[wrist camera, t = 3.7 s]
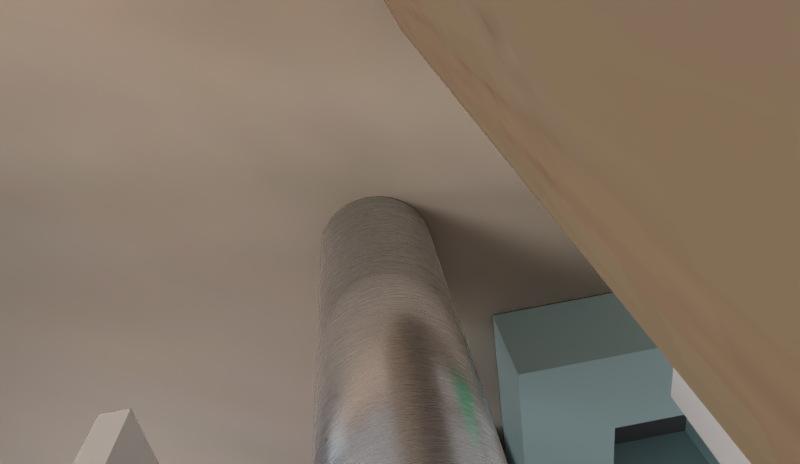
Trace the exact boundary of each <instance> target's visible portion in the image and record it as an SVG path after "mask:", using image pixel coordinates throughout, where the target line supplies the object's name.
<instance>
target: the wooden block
mask: <svg viewBox="0 0 800 464" xmlns="http://www.w3.org/2000/svg"><path fill="white" fill-rule="evenodd" d="M384 1H385V3H386V4H387V6H388V8H389V9H390V11H391V13H392V15H393V16H394V18H395V20H396V21H397V23H398V25H399V26H400V28H401V30H402V31H403V33H404V34H405V35H406V36H407V38H408V39H409V40H410V41H411V43H412V44H413V45H414V46H415V48H416V49H417V50H418V51H419V53H420V54H421V55H422V56H423V57H424V59H425V60H426V61H427V62H428V64H429V65H430V66H431V67H432V69H433V70H434V71H435V72H436V74H437V75H438V76H439V77H440V79H441V80H442V81H443V82H444V84H445V85H446V86H447V87H448V88H449V90H450V91H451V92H452V93H453V95H454V96H455V97H456V98H457V100H458V101H459V102H460V103H461V105H462V106H463V107H464V108H465V110H466V111H467V112H468V113H469V114H470V116H471V117H472V118H473V119H474V121H475V122H476V123H477V124H478V126H479V127H480V128H481V129H482V131H483V132H484V133H485V134H486V136H487V137H488V138H489V139H490V141H491V142H492V143H493V144H494V145H495V147H496V148H497V149H498V150H499V152H500V153H501V154H502V155H503V157H504V158H505V159H506V160H507V162H508V163H509V164H510V165H511V167H512V168H513V169H514V170H515V171H516V173H517V174H518V175H519V176H520V178H521V179H522V180H523V181H524V183H525V184H526V185H527V186H528V188H529V189H530V190H531V191H532V193H533V194H534V195H535V196H536V198H537V199H538V200H539V201H540V202H541V204H542V205H543V206H544V207H545V209H546V210H547V211H548V212H549V214H550V215H551V216H552V217H553V219H554V220H555V221H556V222H557V224H558V225H559V226H560V227H561V228H562V230H563V231H564V232H565V233H566V235H567V236H568V237H569V238H570V240H571V241H572V242H573V243H574V245H575V246H576V247H577V248H578V250H579V251H580V252H581V253H582V255H583V256H584V257H585V258H586V259H587V261H588V262H589V263H590V264H591V266H592V267H593V268H594V269H595V271H596V272H597V273H598V274H599V276H600V277H601V278H602V279H603V281H604V282H605V283H606V284H607V286H608V287H609V288H610V289H611V290H612V292H613V293H614V294H615V295H616V297H617V298H618V299H619V300H620V302H621V303H622V304H623V305H624V307H625V308H626V309H627V310H628V312H629V313H630V314H631V315H632V316H633V318H634V319H635V320H636V321H637V323H638V324H639V325H640V326H641V328H642V329H643V330H644V331H645V333H646V334H647V335H648V336H649V338H650V339H651V340H652V341H653V343H654V344H655V345H656V346H657V347H658V349H659V350H660V351H661V352H662V354H663V355H664V356H665V357H666V359H667V360H668V361H669V362H670V364H671V365H672V366H673V367H674V369H675V370H676V371H677V372H678V373H679V375H680V376H681V377H682V378H683V380H684V381H685V382H686V383H687V385H688V386H689V387H690V388H691V390H692V391H693V392H694V393H695V395H696V396H697V397H698V398H699V400H700V401H701V402H702V403H703V404H704V406H705V407H706V408H707V409H708V411H709V412H710V413H711V414H712V416H713V417H714V418H715V419H716V421H717V422H718V423H719V424H720V426H721V427H722V428H723V429H724V430H725V432H726V433H727V434H728V435H729V437H730V438H731V439H732V440H733V442H734V443H735V444H736V445H737V447H738V448H739V449H740V450H741V452H742V453H743V454H744V455H745V457H746V458H747V459H748V460H749V461H750V463H751V464H800V0H384Z"/></svg>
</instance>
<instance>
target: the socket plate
mask: <svg viewBox="0 0 800 464" xmlns="http://www.w3.org/2000/svg"><path fill="white" fill-rule="evenodd" d="M493 326H494V337H495V347H496V358H497V369H498V379H499V390H500V401H501V411H502V422H503V433H504V443H505V454H506V460H507V463H508V464H720V463H719V462H718V460H717V459H716V458H715V456H714V455H713V454H712V452H711V451H710V449H709V448H708V447H707V445H706V444H705V443H704V441H703V440H702V438H701V437H700V436H699V434H698V433H697V432H696V430H695V429H694V427H693V426H692V425H691V423H690V422H689V421H688V419H687V418H686V416H685V415H684V414H683V412H682V411H681V410H680V408H679V407H678V405H677V404H676V403H675V401H674V400H673V399H672V397H671V387H672V376H673V366H672V365H671V364H670V362H669V361H668V360H667V359H666V357H665V356H664V355H663V354H662V352H661V351H660V350H659V349H658V347H657V346H656V345H655V344H654V343H653V341H652V340H651V339H650V338H649V336H648V335H647V334H646V333H645V331H644V330H643V329H642V328H641V326H640V325H639V324H638V323H637V321H636V320H635V319H634V318H633V316H632V315H631V314H630V313H629V312H628V310H627V309H626V308H625V307H624V305H623V304H622V303H621V302H620V300H619V299H618V298H617V297H616V295H615V294H614V293H609V294H603V295H598V296H593V297H587V298H582V299H577V300H572V301H566V302H561V303H556V304H551V305H545V306H540V307H535V308H530V309H524V310H519V311H514V312H509V313H503V314H498V315H493Z"/></svg>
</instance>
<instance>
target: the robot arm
mask: <svg viewBox="0 0 800 464" xmlns="http://www.w3.org/2000/svg"><path fill="white" fill-rule="evenodd" d="M671 397H672V399H673V400H674V401H675V403H676V404H677V405H678V407H679V408H680V410H681V411H682V412H683V414H684V415H685V416H686V418H687V419H688V421H689V422H690V423H691V425H692V426H693V427H694V429H695V430H696V432H697V433H698V434H699V436H700V437H701V438H702V440H703V441H704V443H705V444H706V445H707V447H708V448H709V449H710V451H711V452H712V454H713V455H714V456H715V458H716V459H717V460H718V462H719V463H720V464H751V463H750V461H749V460H748V459H747V458H746V457H745V455H744V454H743V453H742V452H741V450H740V449H739V448H738V447H737V445H736V444H735V443H734V442H733V440H732V439H731V438H730V437H729V435H728V434H727V433H726V432H725V430H724V429H723V428H722V427H721V426H720V424H719V423H718V422H717V421H716V419H715V418H714V417H713V416H712V414H711V413H710V412H709V411H708V409H707V408H706V407H705V406H704V404H703V403H702V402H701V401H700V400H699V398H698V397H697V396H696V395H695V393H694V392H693V391H692V390H691V388H690V387H689V386H688V385H687V383H686V382H685V381H684V380H683V378H682V377H681V376H680V375H679V373H678V372H677V371H676V370H675V369H674V367H673V376H672V387H671ZM73 464H159V463H158V461H157V459H156V457H155V455H154V453H153V451H152V449H151V447H150V445H149V443H148V441H147V439H146V437H145V435H144V433H143V431H142V429H141V427H140V425H139V423H138V421H137V419H136V417H135V415H134V413H133V412H132V410H131V408H130V409H124V410H119V411H113V412H108V413H102V414H98V416H97V418H96V420H95V422H94V424H93V426H92V428H91V430H90V432H89V433H88V435H87V437H86V439H85V441H84V443H83V445H82V447H81V449H80V451H79V452H78V454H77V456H76V458H75V460H74V462H73Z"/></svg>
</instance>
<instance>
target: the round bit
mask: <svg viewBox="0 0 800 464" xmlns="http://www.w3.org/2000/svg"><path fill="white" fill-rule="evenodd" d="M313 464H508V463H507V460H506V457H505V454H504V451H503V448H502V445H501V442H500V439H499V437H498V434H497V431H496V428H495V425H494V422H493V419H492V416H491V413H490V410H489V407H488V404H487V401H486V398H485V395H484V392H483V389H482V386H481V383H480V380H479V377H478V374H477V371H476V368H475V365H474V362H473V360H472V357H471V354H470V351H469V348H468V345H467V342H466V339H465V336H464V333H463V330H462V327H461V324H460V321H459V318H458V315H457V312H456V309H455V306H454V303H453V300H452V297H451V294H450V291H449V288H448V285H447V283H446V280H445V277H444V274H443V271H442V268H441V265H440V262H439V259H438V256H437V253H436V250H435V247H434V244H433V241H432V238H431V235H430V232H429V229H428V227H427V224H426V223H425V221H424V219H423V218H422V217H421V215H420V214H419V213H418V212H417V211H416V210H415V209H413V208H412V207H411V206H409V205H408V204H406V203H404V202H402V201H399V200H397V199H393V198H389V197H367V198H363V199H359V200H356V201H354V202H352V203H350V204H348V205H346V206H344V207H343V208H342V209H340V210H339V211H338V212H337V213H336V214H335V215H334V216H333V217H332V218H331V219H330V221H329V222H328V224H327V226H326V228H325V230H324V233H323V236H322V241H321V259H320V285H319V311H318V337H317V362H316V388H315V414H314V440H313Z"/></svg>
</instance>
